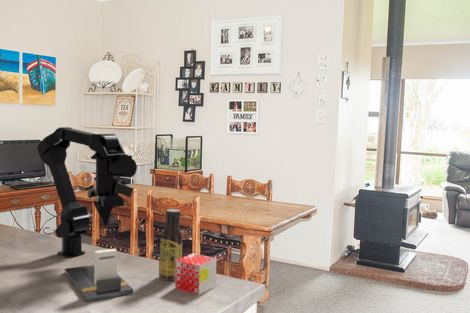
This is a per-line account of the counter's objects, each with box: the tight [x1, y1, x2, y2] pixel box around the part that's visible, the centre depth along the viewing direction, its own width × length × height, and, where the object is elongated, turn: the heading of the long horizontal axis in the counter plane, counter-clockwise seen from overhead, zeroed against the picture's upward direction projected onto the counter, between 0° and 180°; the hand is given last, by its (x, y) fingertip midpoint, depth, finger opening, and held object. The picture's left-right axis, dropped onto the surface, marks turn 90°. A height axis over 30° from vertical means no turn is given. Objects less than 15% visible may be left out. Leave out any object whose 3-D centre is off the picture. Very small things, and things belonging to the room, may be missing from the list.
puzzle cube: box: [174, 252, 217, 295], centre depth 129 cm, size 8×8×8 cm
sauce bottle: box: [158, 208, 183, 282], centre depth 135 cm, size 6×6×20 cm
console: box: [64, 264, 134, 303], centre depth 130 cm, size 24×12×4 cm, turn 32°
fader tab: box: [93, 248, 118, 285], centre depth 123 cm, size 3×5×9 cm, turn 122°
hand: (105, 224), depth 147 cm, fingers closed
